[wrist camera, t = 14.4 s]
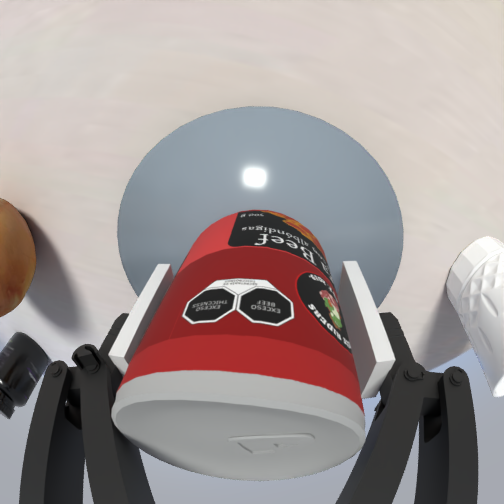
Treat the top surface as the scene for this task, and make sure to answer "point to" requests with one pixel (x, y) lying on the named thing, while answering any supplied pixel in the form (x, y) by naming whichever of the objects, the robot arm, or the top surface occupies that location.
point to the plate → (261, 192)
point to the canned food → (246, 359)
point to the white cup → (482, 304)
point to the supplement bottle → (19, 372)
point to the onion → (14, 257)
